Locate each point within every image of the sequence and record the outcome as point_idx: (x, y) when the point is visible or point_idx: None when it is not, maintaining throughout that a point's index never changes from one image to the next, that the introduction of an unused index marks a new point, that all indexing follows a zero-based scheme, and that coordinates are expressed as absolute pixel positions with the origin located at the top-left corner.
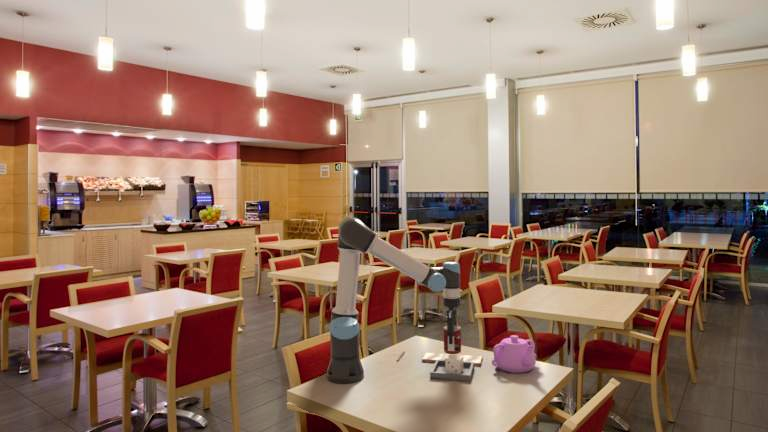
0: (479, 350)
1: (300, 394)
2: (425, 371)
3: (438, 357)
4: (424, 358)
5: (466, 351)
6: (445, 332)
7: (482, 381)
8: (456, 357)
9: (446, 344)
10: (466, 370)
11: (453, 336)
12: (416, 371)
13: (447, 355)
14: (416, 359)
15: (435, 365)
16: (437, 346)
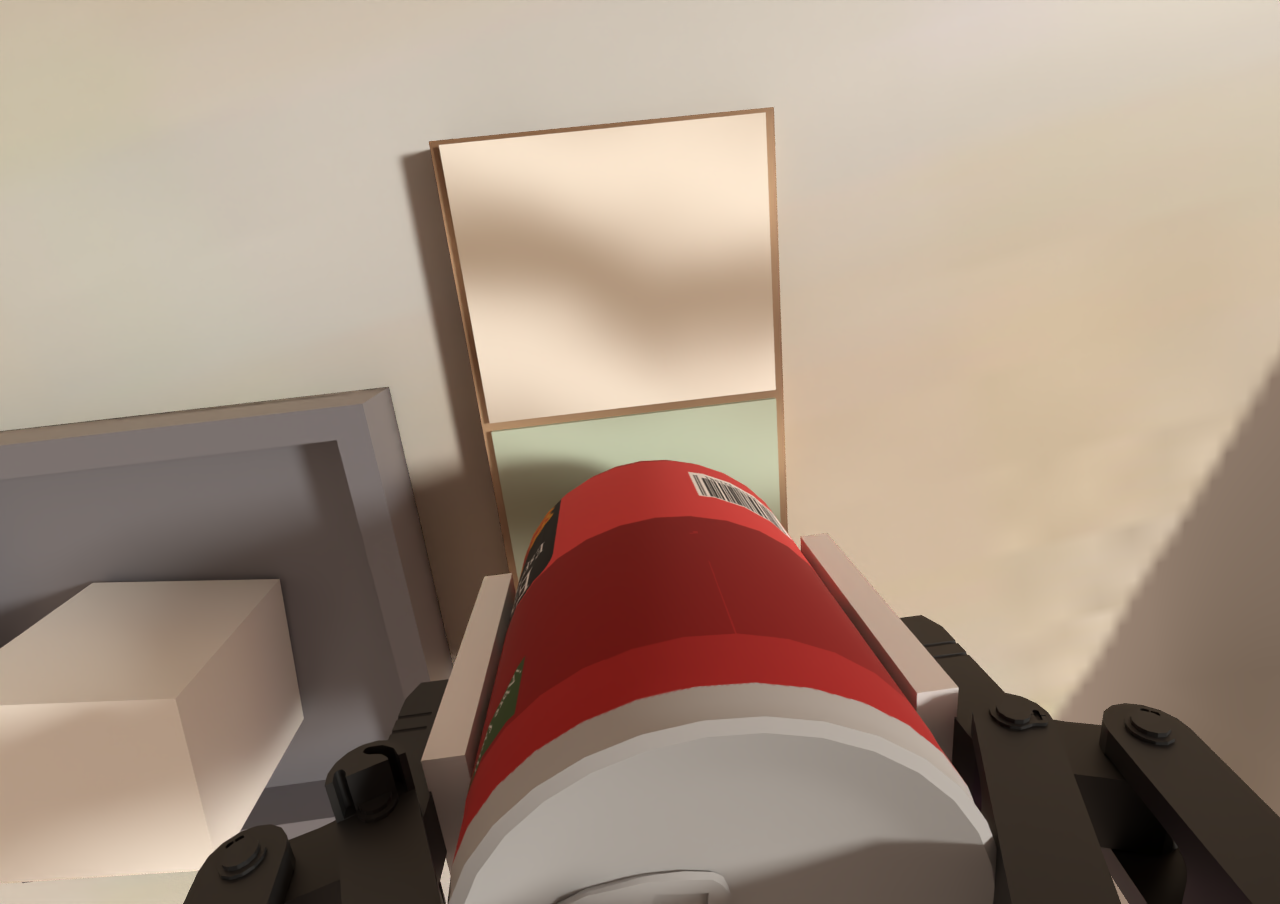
0: (1061, 691)
1: None
2: (93, 312)
3: (594, 360)
4: (477, 168)
5: (1008, 579)
6: (501, 734)
7: (152, 901)
8: (93, 816)
9: (525, 585)
10: (324, 745)
11: (449, 869)
12: (18, 188)
13: (714, 451)
14: (515, 19)
15: (111, 458)
16: (1183, 173)
